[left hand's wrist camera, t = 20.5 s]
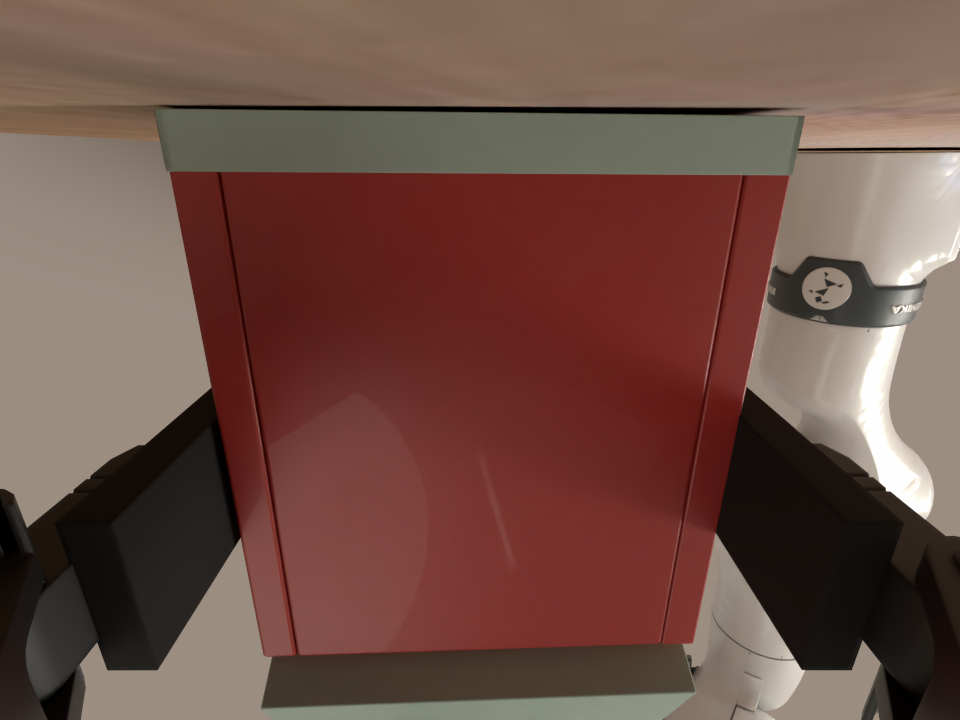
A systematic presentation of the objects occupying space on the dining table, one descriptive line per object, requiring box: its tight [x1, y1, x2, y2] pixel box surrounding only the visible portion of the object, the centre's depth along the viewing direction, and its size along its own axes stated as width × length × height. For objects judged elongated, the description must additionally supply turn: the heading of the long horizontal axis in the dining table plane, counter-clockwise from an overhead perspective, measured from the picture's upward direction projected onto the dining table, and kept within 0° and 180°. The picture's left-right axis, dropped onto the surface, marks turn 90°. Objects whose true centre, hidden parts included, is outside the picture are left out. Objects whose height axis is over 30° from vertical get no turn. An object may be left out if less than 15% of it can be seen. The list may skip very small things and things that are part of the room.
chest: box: [154, 109, 805, 657], centre depth 16 cm, size 13×10×11 cm
